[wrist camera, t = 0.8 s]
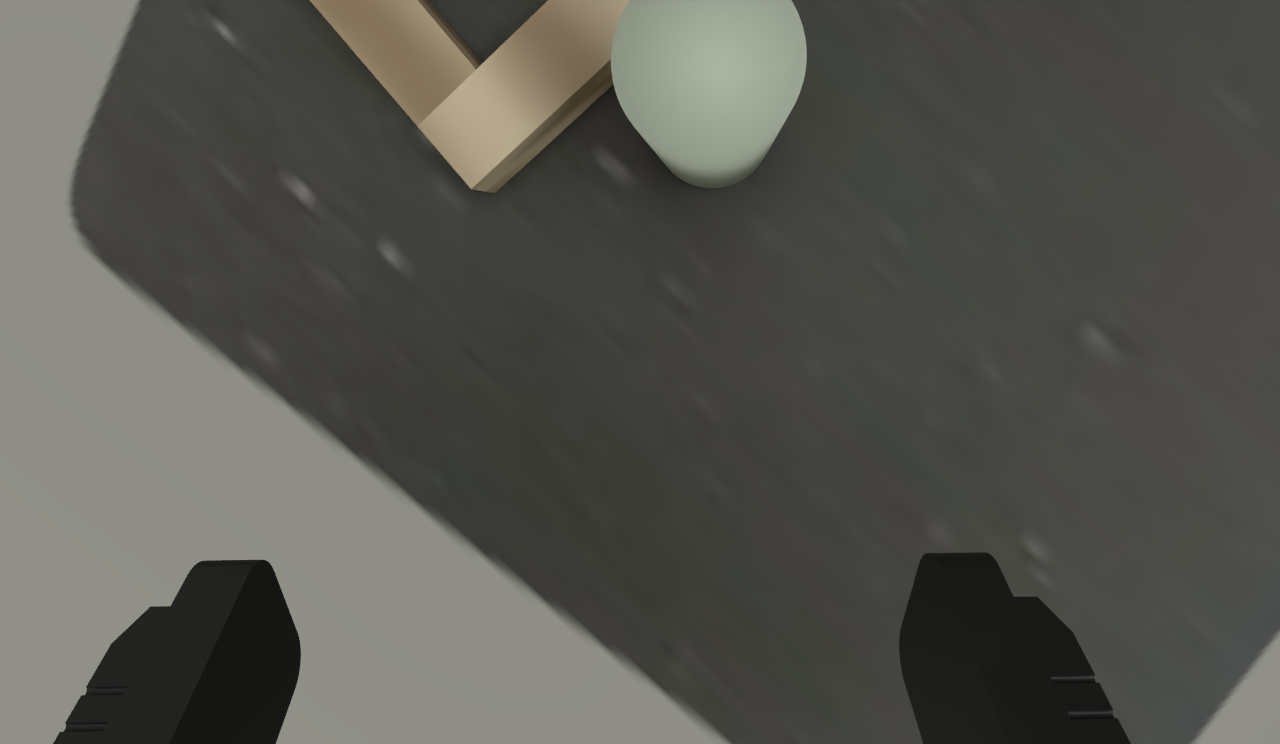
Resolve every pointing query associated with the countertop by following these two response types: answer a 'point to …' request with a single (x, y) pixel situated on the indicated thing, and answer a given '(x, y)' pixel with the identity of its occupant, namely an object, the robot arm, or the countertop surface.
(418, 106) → the socket
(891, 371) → the countertop surface
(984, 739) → the robot arm
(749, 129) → the peg
